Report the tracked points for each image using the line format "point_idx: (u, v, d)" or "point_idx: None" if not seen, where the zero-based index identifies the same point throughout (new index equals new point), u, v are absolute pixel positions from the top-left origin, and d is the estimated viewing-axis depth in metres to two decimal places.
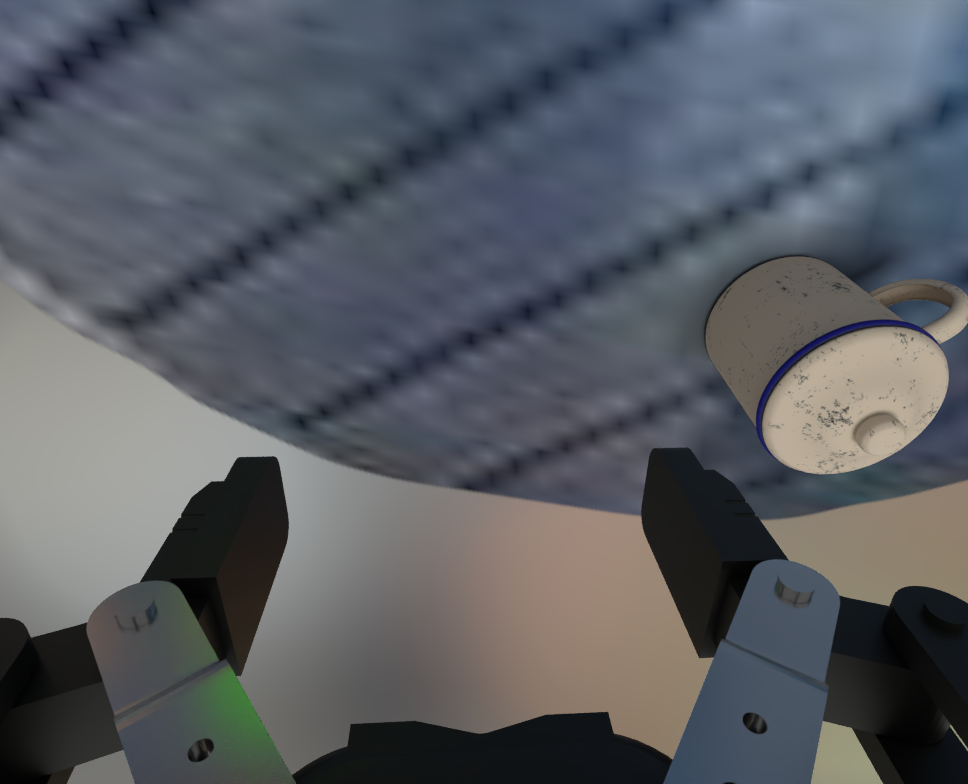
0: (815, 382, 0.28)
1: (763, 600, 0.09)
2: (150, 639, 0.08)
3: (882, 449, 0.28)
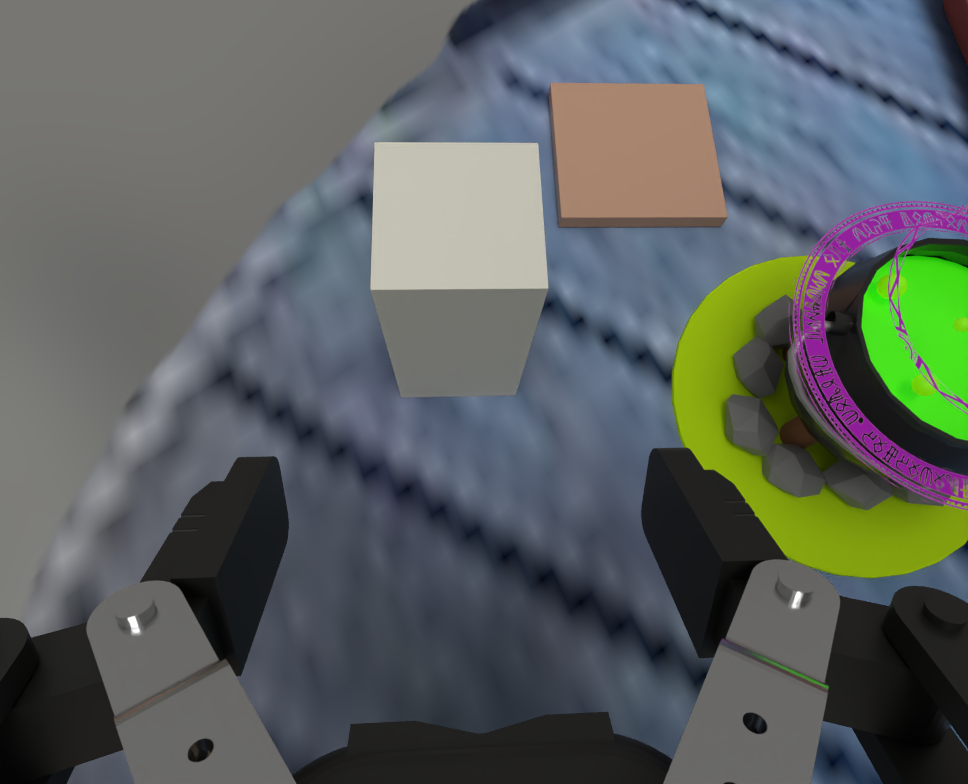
0: None
1: (763, 600, 0.09)
2: (150, 639, 0.08)
3: None
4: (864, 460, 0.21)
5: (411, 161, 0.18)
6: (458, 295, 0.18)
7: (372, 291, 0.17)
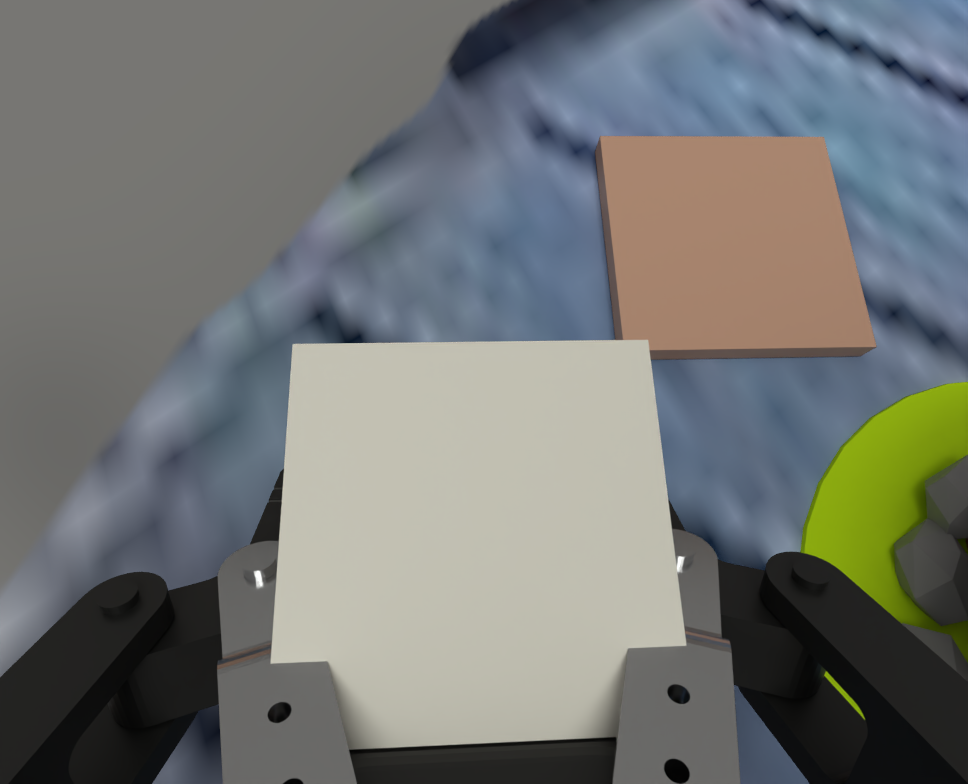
0: None
1: None
2: (265, 594, 0.09)
3: None
4: None
5: (372, 390, 0.08)
6: (479, 735, 0.07)
7: None
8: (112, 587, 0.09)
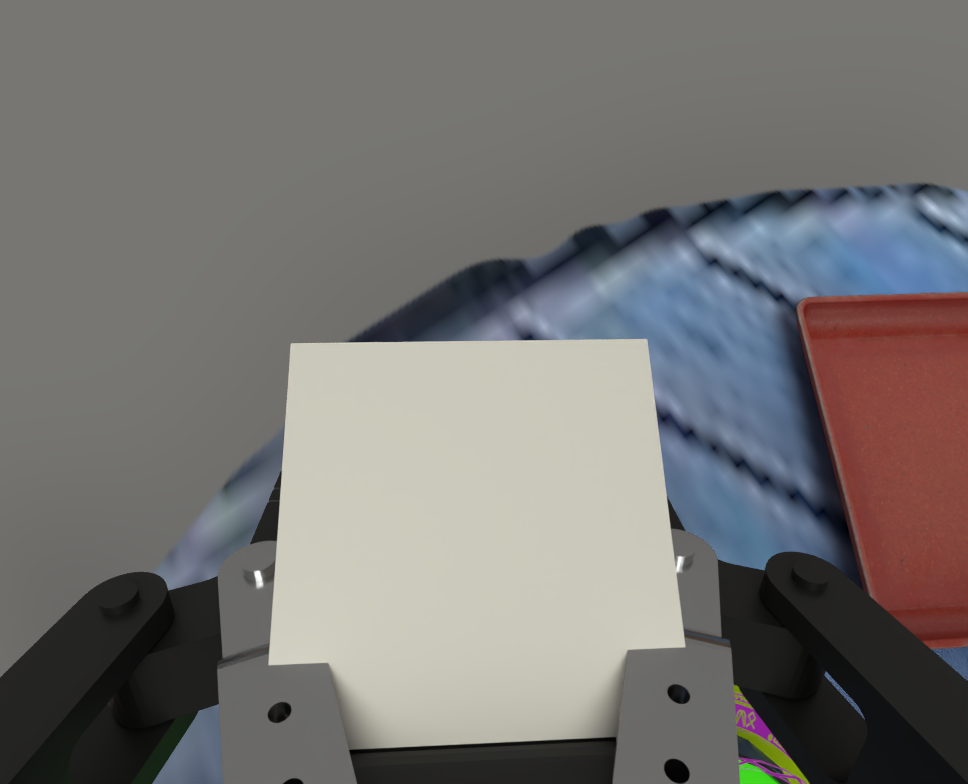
0: None
1: None
2: (265, 594, 0.09)
3: None
4: None
5: (370, 389, 0.08)
6: (477, 735, 0.07)
7: None
8: (113, 588, 0.09)
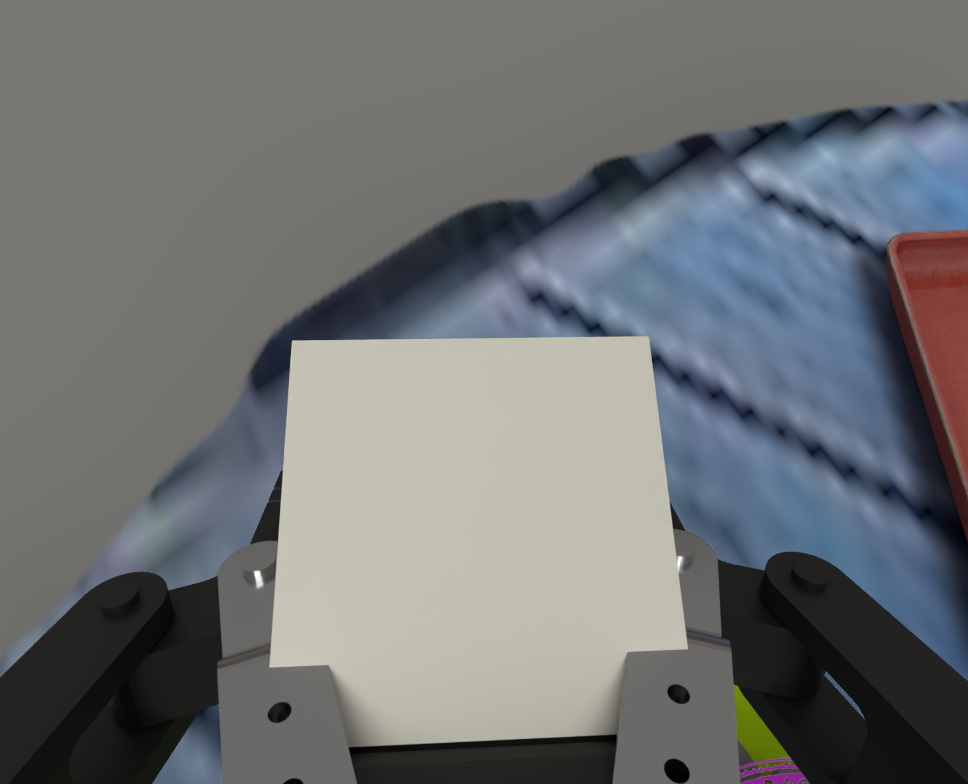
0: None
1: None
2: (265, 595, 0.09)
3: None
4: None
5: (372, 387, 0.08)
6: (479, 732, 0.07)
7: None
8: (113, 588, 0.09)
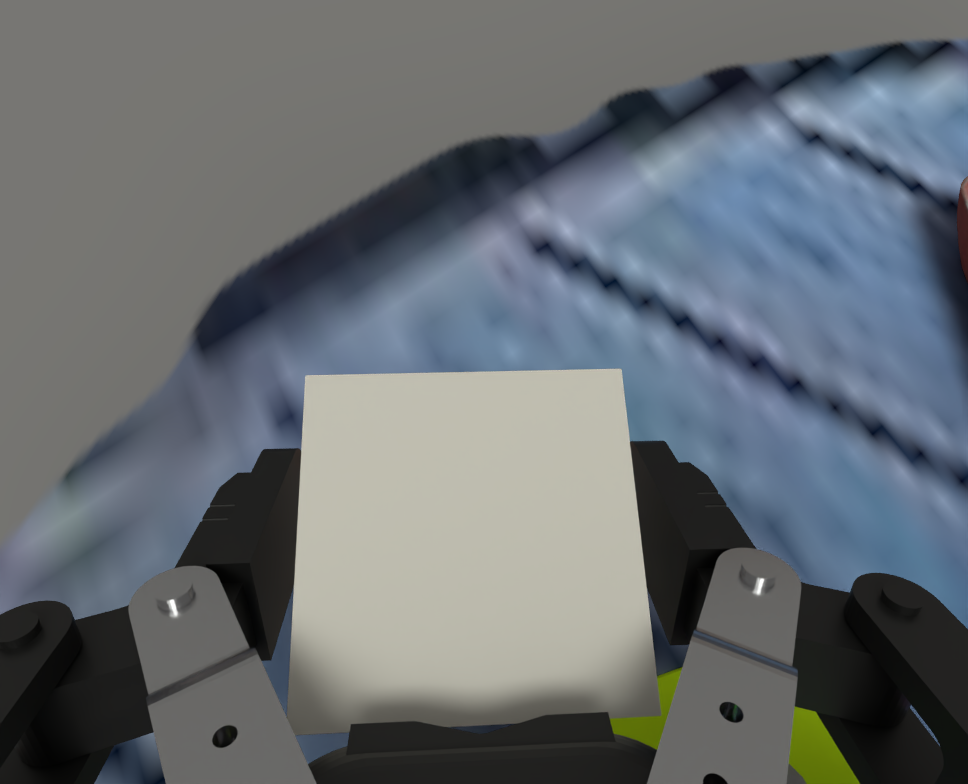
0: None
1: (726, 586, 0.09)
2: (186, 622, 0.08)
3: None
4: None
5: (376, 416, 0.09)
6: (471, 719, 0.08)
7: None
8: (10, 620, 0.08)
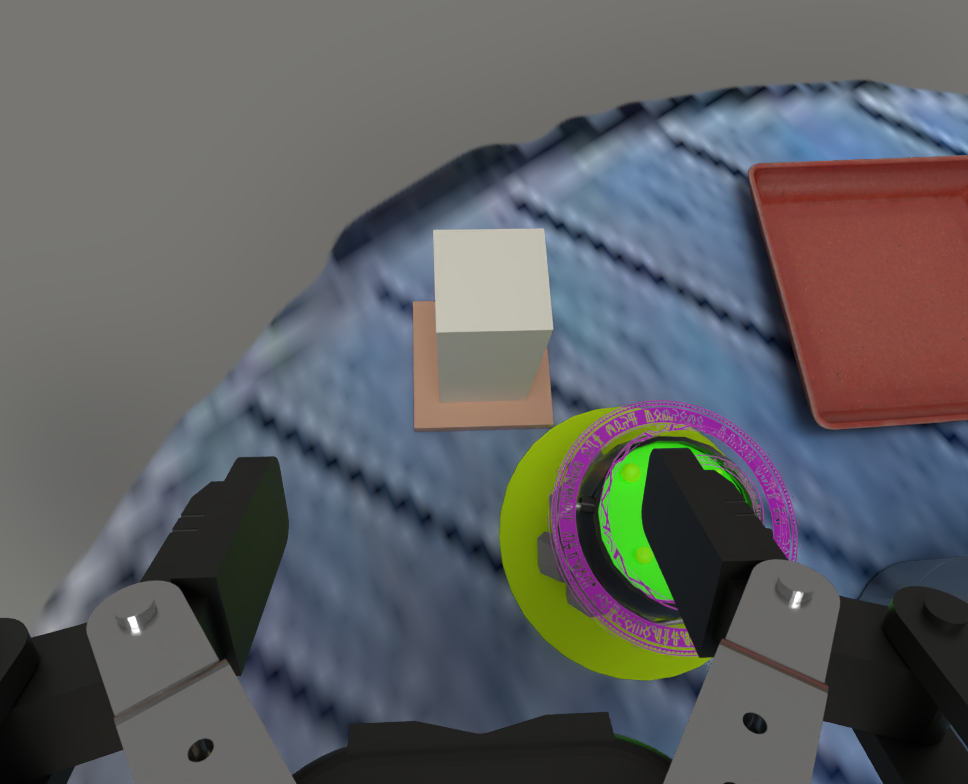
0: None
1: (762, 600, 0.09)
2: (150, 639, 0.08)
3: None
4: None
5: (458, 243, 0.27)
6: (493, 335, 0.26)
7: (437, 333, 0.26)
8: None
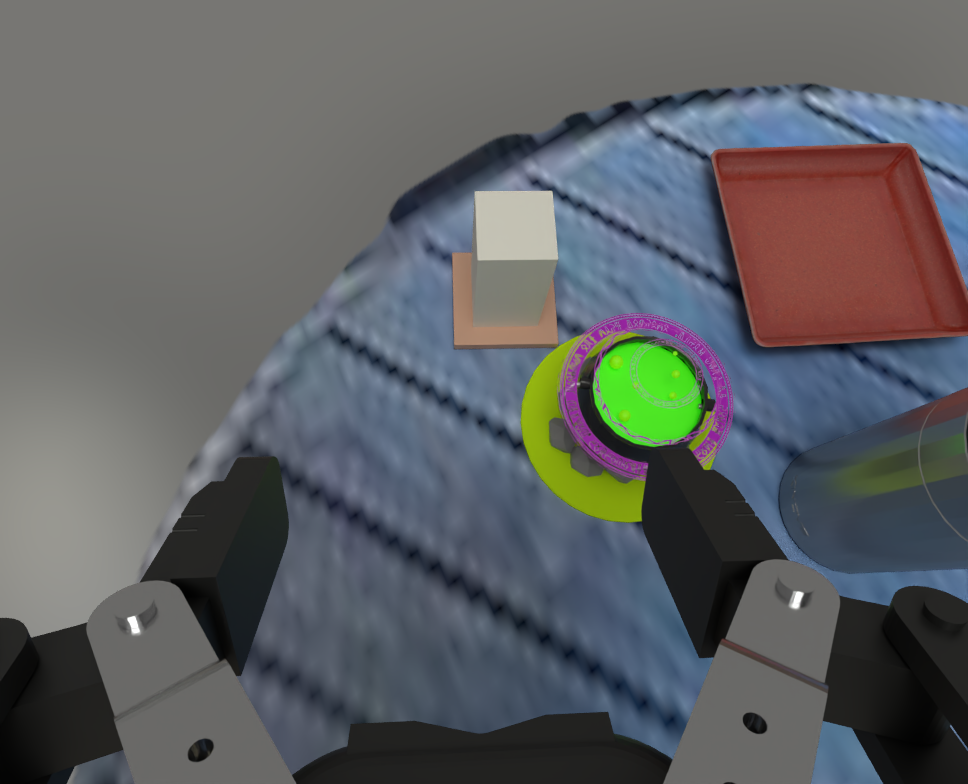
0: None
1: (763, 600, 0.09)
2: (149, 639, 0.08)
3: None
4: (602, 455, 0.40)
5: (492, 200, 0.39)
6: (516, 263, 0.38)
7: (478, 261, 0.38)
8: None
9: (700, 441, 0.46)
